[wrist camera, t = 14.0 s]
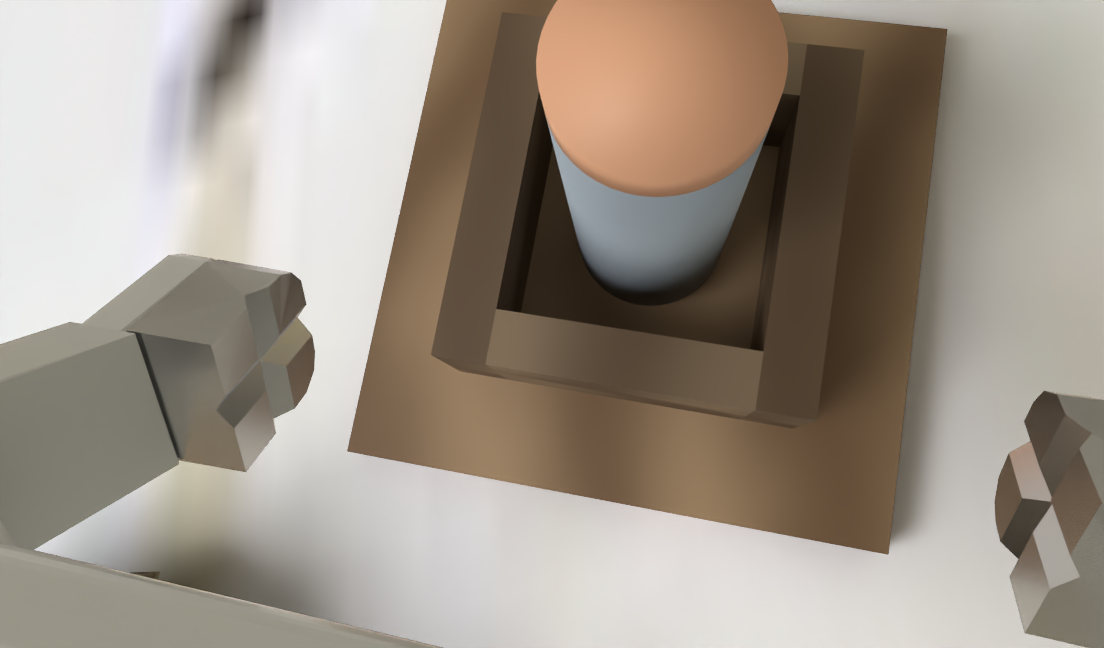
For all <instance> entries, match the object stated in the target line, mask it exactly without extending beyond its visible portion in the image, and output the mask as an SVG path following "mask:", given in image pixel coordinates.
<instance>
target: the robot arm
mask: <svg viewBox="0 0 1104 648" xmlns="http://www.w3.org/2000/svg"><path fill="white" fill-rule="evenodd" d="M305 305H306V301H305V296H304V292H303V288H302V283H301V280H300V279H298V278H297V277H296V276H295V275H294V274H292V273H291V272H285V271H280V270H274V269H269V268H263V267H257V266H252V265H246V264H241V263H235V262H229V261H224V260H214V259H212V258H206V257H199V256H193V255H186V254H176V255H168V256H167V257H166V258H164V259H163V260H162V261H161V262H159V263H158V264H157V265H156V266H154V267H153V268H152V269H151V270H149V271H148V272H147V273H145V274H144V275H143V276H142V277H140V278H139V279H138V280H137V281H135V282H134V283H133V284H132V285H130V286H129V287H128V288H127V289H125V290H124V291H123V292H122V293H120V294H119V295H118V296H116V297H115V298H114V299H113V300H111V301H110V302H109V303H108V304H106V305H105V306H104V307H103V308H101V309H100V310H99V311H98V312H96V313H95V314H94V315H92V316H91V317H90V318H89V319H87V320H86V321H85V322H84V323H82V324H79V323H73V322H68V323H65V324H62V325H59V326H56V327H53V328H50V329H47V330H43V331H40V332H37V333H34V334H31V335H28V336H25V337H22V338H19V339H16V340H12V341H9V342H6V343H3V344H0V648H442V647H438V646H434V645H429V644H425V643H421V642H417V641H413V640H408V639H404V638H400V637H396V636H392V635H388V634H383V633H379V632H375V631H371V630H367V629H362V628H358V627H354V626H350V625H346V624H341V623H337V622H333V621H329V620H325V619H321V618H316V617H312V616H308V615H304V614H300V613H295V612H291V611H287V610H283V609H279V608H274V607H270V606H266V605H262V604H258V603H253V602H249V601H245V600H241V599H237V598H232V597H228V596H224V595H220V594H216V593H211V592H207V591H203V590H199V589H195V588H190V587H186V586H182V585H178V584H174V583H169V582H165V581H161V580H157V579H153V578H148V577H144V576H140V575H136V574H132V573H127V572H123V571H119V570H115V569H111V568H106V567H102V566H98V565H94V564H90V563H85V562H81V561H77V560H73V559H69V558H64V557H60V556H56V555H52V554H48V553H44V552H39V551H35V550H34V549H36V548H37V547H39V546H41V545H42V544H44V543H46V542H47V541H49V540H51V539H53V538H54V537H56V536H58V535H59V534H61V533H63V532H64V531H66V530H68V529H69V528H71V527H73V526H75V525H76V524H78V523H80V522H81V521H83V520H85V519H86V518H88V517H90V516H92V515H93V514H95V513H97V512H98V511H100V510H102V509H103V508H105V507H107V506H108V505H110V504H112V503H114V502H115V501H117V500H119V499H120V498H122V497H124V496H125V495H127V494H129V493H131V492H132V491H134V490H136V489H137V488H139V487H141V486H142V485H144V484H146V483H147V482H149V481H151V480H153V479H154V478H156V477H158V476H159V475H161V474H163V473H164V472H166V471H168V470H170V469H171V468H173V467H175V466H176V465H178V464H179V461H178V460H181V461H186V462H192V463H198V464H203V465H209V466H215V467H220V468H226V469H232V470H237V471H243V472H246V471H247V470H248V469H249V467H250V466H251V465H252V464H253V462H254V461H255V460H256V458H257V457H258V456H259V454H260V453H261V452H262V451H263V449H264V448H265V447H266V445H267V444H268V443H269V441H270V440H271V439H272V438H273V436H274V435H275V434H276V431H275V425H274V418H276V417H278V416H280V415H282V414H284V413H286V412H288V411H290V410H292V409H294V408H295V407H296V406H297V405H298V403H299V402H300V400H301V399H302V398H303V396H304V395H305V393H306V392H307V389H308V386H309V383H310V380H311V377H312V374H313V371H314V358H315V350H314V344H313V338H312V334H311V333H310V332H309V331H308V330H307V328H306V327H305V326H304V325H303V324H302V322H301V321H300V320H299V319H298V318H297V317H298V316H299V314H300V313H301V311H302V310H303V308H304V307H305ZM1024 422H1025V425H1026V428H1027V431H1028V434H1029V437H1030V440H1031V441H1030V442H1028V443H1026V444H1025V445H1023V446H1021V447H1019V448H1017V449H1016V450H1014V451H1012V452H1010V453H1009V454H1008V457H1007V459H1006V461H1005V464H1004V466H1003V468H1002V471H1001V473H1000V476H999V479H998V485H997V491H996V497H995V517H996V525H997V529H998V533H999V537H1000V541H1001V542H1002V543H1003V544H1004V545H1005V546H1006V547H1007V548H1008V549H1009V550H1010V551H1011V552H1012V553H1013V554H1014V555H1015V556H1016V557H1017V558H1018V559H1019V560H1018V562H1017V564H1016V565H1015V567H1014V569H1013V571H1012V573H1011V575H1010V580H1011V584H1012V588H1013V591H1014V595H1015V599H1016V603H1017V606H1018V610H1019V614H1020V617H1021V621H1022V625H1023V629H1024V632H1025V633H1027V634H1031V635H1036V636H1040V637H1044V638H1049V639H1053V640H1057V641H1062V642H1066V643H1070V644H1075V645H1079V646H1083V647H1088V648H1104V400H1103V399H1096V398H1090V397H1083V396H1076V395H1069V394H1062V393H1055V392H1048V391H1044V392H1043V393H1042V394H1041V395H1040V396H1039V397H1038V398H1037V399H1036V400H1035V401H1034V402H1033V404H1032V407H1031V409H1030V411H1029V413H1028V415H1027V417H1026V419H1025V421H1024Z"/></svg>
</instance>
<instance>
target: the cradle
mask: <svg viewBox="0 0 1104 648" xmlns="http://www.w3.org/2000/svg"><path fill="white" fill-rule="evenodd" d="M556 2H557V0H447V2H446V6H445V11H444V15H443V20H442V24H441V29H440V33H439V38H438V42H437V47H436V52H435V56H434V61H433V65H432V70H431V74H430V79H429V83H428V88H427V92H426V97H425V101H424V106H423V110H422V115H421V120H420V124H419V129H418V133H417V138H416V142H415V147H414V151H413V156H412V160H411V165H410V169H409V174H408V178H407V183H406V187H405V192H404V197H403V201H402V206H401V210H400V215H399V219H398V224H397V228H396V233H395V237H394V242H393V246H392V251H391V255H390V260H389V264H388V269H387V274H386V278H385V283H384V287H383V292H382V296H381V301H380V305H379V310H378V314H377V319H376V323H375V328H374V332H373V337H372V342H371V346H370V351H369V355H368V360H367V364H366V369H365V373H364V378H363V382H362V387H361V391H360V396H359V400H358V405H357V409H356V414H355V419H354V423H353V428H352V432H351V437H350V441H349V446H348V450H347V451H349V452H354V453H359V454H364V455H369V456H375V457H380V458H385V459H390V460H396V461H401V462H406V463H411V464H417V465H422V466H427V467H432V468H438V469H443V470H448V471H453V472H459V473H464V474H469V475H474V476H479V477H485V478H490V479H495V480H500V481H506V482H511V483H516V484H521V485H527V486H532V487H537V488H542V489H548V490H553V491H558V492H563V493H569V494H574V495H579V496H584V497H589V498H595V499H600V500H605V501H610V502H616V503H621V504H626V505H631V506H637V507H642V508H647V509H652V510H658V511H663V512H668V513H673V514H679V515H684V516H689V517H694V518H700V519H705V520H710V521H715V522H720V523H726V524H731V525H736V526H741V527H747V528H752V529H757V530H762V531H768V532H773V533H778V534H783V535H789V536H794V537H799V538H804V539H810V540H815V541H820V542H825V543H830V544H836V545H841V546H846V547H851V548H857V549H862V550H867V551H872V552H878V553H883V554H888V553H889V544H890V536H891V527H892V518H893V509H894V500H895V491H896V482H897V473H898V464H899V455H900V446H901V437H902V428H903V419H904V410H905V402H906V393H907V384H908V375H909V366H910V357H911V348H912V339H913V330H914V321H915V312H916V303H917V294H918V285H919V277H920V268H921V259H922V250H923V241H924V232H925V223H926V214H927V205H928V196H929V187H930V178H931V169H932V160H933V151H934V143H935V134H936V125H937V116H938V107H939V98H940V89H941V80H942V71H943V62H944V53H945V44H946V35H947V29H941V28H931V27H921V26H911V25H900V24H890V23H880V22H870V21H860V20H850V19H840V18H830V17H820V16H810V15H800V14H790V13H779V12H778V14H779V16H780V19H781V21H782V24H783V27H784V30H785V35H786V39H787V46H788V71H787V77H786V82H785V86H784V90H783V93H782V95H781V98H780V101H779V104H778V106H777V109H776V111H775V114H774V117H773V119H772V122H771V124H770V127H769V130H768V132H767V135H766V138H765V140H764V143H763V145H762V148H761V151H760V153H759V156H758V158H757V161H756V164H755V166H754V169H753V172H752V174H751V177H750V179H749V182H748V185H747V187H746V190H745V192H744V195H743V198H742V200H741V203H740V205H739V208H738V211H737V213H736V216H735V219H734V221H733V224H732V226H731V229H730V232H729V234H728V237H727V239H726V242H725V245H724V247H723V250H722V253H721V255H720V258H719V260H718V263H717V265H716V267H715V269H714V271H713V272H712V274H711V275H710V277H709V278H708V279H707V280H706V281H705V283H704V284H703V285H702V286H701V287H699V288H698V289H697V290H696V291H695V292H693V293H692V294H690V295H688V296H687V297H685V298H683V299H681V300H678V301H676V302H672V303H669V304H664V305H658V306H644V305H637V304H632V303H628V302H626V301H623V300H620V299H618V298H616V297H614V296H613V295H611V294H610V293H608V292H607V291H605V290H604V289H603V288H602V287H601V286H600V285H599V284H598V283H597V282H596V281H595V280H594V279H593V277H592V276H591V274H590V273H589V271H588V270H587V268H586V266H585V263H584V261H583V258H582V255H581V251H580V247H579V244H578V240H577V236H576V232H575V228H574V224H573V220H572V216H571V213H570V209H569V205H568V201H567V197H566V193H565V189H564V185H563V182H562V178H561V174H560V170H559V166H558V162H557V158H556V154H555V150H554V147H553V143H552V139H551V135H550V131H549V127H548V123H547V119H546V116H545V112H544V108H543V104H542V100H541V96H540V92H539V88H538V81H537V75H536V57H537V49H538V43H539V39H540V35H541V32H542V29H543V26H544V24H545V22H546V19H547V17H548V15H549V13H550V12H551V10H552V8H553V6H554V5H555V3H556Z"/></svg>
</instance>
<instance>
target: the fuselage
mask: <svg viewBox="0 0 1104 648" xmlns="http://www.w3.org/2000/svg"><path fill="white" fill-rule="evenodd" d="M787 71H788V46H787V39H786V35H785V30H784V27H783V24H782V21H781V19H780V16H779V14H778V12H777V10H776V8H775V6H774V4H773V3H772V1H771V0H557V2H556V3H555V5H554V6H553V8H552V10H551V12H550V13H549V15H548V17H547V19H546V22H545V24H544V26H543V29H542V32H541V35H540V39H539V43H538V49H537V57H536V75H537V81H538V88H539V92H540V96H541V100H542V104H543V108H544V112H545V116H546V119H547V123H548V127H549V131H550V135H551V139H552V143H553V147H554V150H555V154H556V158H557V162H558V166H559V170H560V174H561V178H562V182H563V185H564V189H565V193H566V197H567V201H568V205H569V209H570V213H571V216H572V220H573V224H574V228H575V232H576V236H577V240H578V244H579V247H580V251H581V255H582V258H583V261H584V263H585V266H586V268H587V270H588V271H589V273H590V274H591V276H592V277H593V279H594V280H595V281H596V282H597V283H598V284H599V285H600V286H601V287H602V288H603V289H604V290H605V291H607V292H608V293H610V294H611V295H613V296H614V297H616V298H618V299H620V300H623V301H626V302H628V303H632V304H637V305H644V306H658V305H664V304H669V303H672V302H676V301H678V300H681V299H683V298H685V297H687V296H688V295H690V294H692V293H693V292H695V291H696V290H697V289H698V288H699V287H701V286H702V285H703V284H704V283H705V281H706V280H707V279H708V278H709V277H710V275H711V274H712V272H713V271H714V269H715V267H716V265H717V263H718V260H719V258H720V255H721V253H722V250H723V247H724V245H725V242H726V239H727V237H728V234H729V232H730V229H731V226H732V224H733V221H734V219H735V216H736V213H737V211H738V208H739V205H740V203H741V200H742V198H743V195H744V192H745V190H746V187H747V185H748V182H749V179H750V177H751V174H752V172H753V169H754V166H755V164H756V161H757V158H758V156H759V153H760V151H761V148H762V145H763V143H764V140H765V138H766V135H767V132H768V130H769V127H770V124H771V122H772V119H773V117H774V114H775V111H776V109H777V106H778V104H779V101H780V98H781V95H782V93H783V90H784V86H785V82H786V77H787Z"/></svg>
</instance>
